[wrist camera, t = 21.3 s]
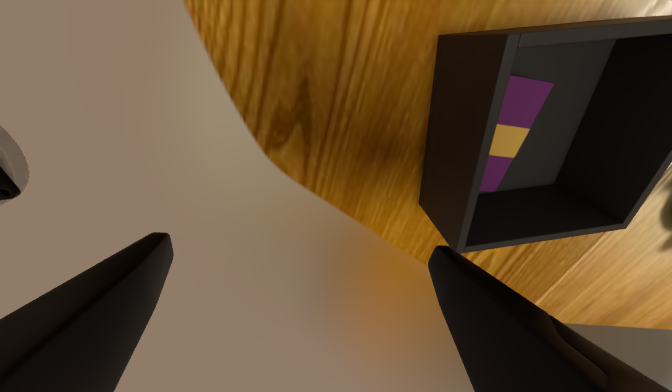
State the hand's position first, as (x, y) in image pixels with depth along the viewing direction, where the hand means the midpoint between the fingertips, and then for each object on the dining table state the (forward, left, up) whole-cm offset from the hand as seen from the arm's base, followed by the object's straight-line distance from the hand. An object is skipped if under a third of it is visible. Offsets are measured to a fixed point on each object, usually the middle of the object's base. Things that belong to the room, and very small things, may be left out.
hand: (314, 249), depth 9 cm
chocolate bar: (+13, -1, -12) cm, 18 cm away
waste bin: (+16, -1, -12) cm, 20 cm away
